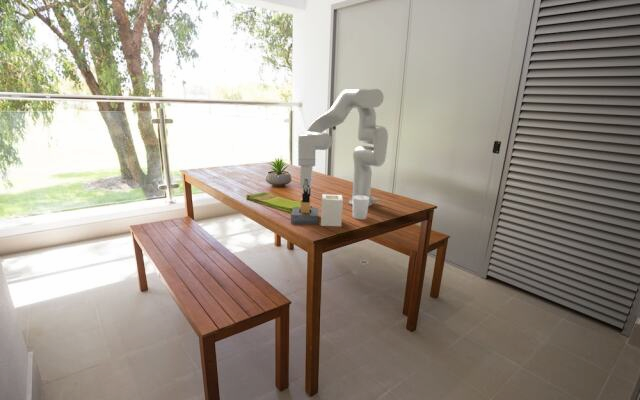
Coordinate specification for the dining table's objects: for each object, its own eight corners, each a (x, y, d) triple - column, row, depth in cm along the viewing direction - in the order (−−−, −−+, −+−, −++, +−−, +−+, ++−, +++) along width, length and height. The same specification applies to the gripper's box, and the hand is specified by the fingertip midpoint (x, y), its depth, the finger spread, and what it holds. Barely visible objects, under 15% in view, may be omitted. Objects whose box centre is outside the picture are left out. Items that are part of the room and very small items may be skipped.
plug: (309, 216, 154) (310, 197, 151) (309, 218, 150) (309, 200, 147) (301, 215, 154) (301, 197, 151) (300, 218, 150) (300, 199, 147)
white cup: (366, 214, 162) (367, 195, 159) (369, 220, 154) (370, 200, 151) (350, 214, 161) (351, 195, 159) (352, 219, 154) (353, 199, 151)
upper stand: (340, 219, 154) (341, 195, 150) (341, 226, 145) (342, 200, 142) (321, 218, 154) (322, 194, 150) (321, 225, 145) (322, 199, 142)
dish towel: (266, 195, 192) (266, 189, 191) (313, 208, 170) (313, 202, 169) (245, 200, 180) (245, 194, 179) (292, 215, 159) (292, 209, 158)
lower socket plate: (318, 215, 158) (318, 207, 157) (317, 224, 146) (318, 215, 145) (293, 214, 158) (293, 206, 157) (290, 223, 146) (291, 214, 145)
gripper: (299, 158, 153) (299, 193, 158) (296, 165, 136) (296, 204, 142) (315, 158, 153) (315, 194, 158) (314, 166, 136) (314, 205, 141)
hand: (306, 199), depth 150 cm, fingers open, 9 cm apart
